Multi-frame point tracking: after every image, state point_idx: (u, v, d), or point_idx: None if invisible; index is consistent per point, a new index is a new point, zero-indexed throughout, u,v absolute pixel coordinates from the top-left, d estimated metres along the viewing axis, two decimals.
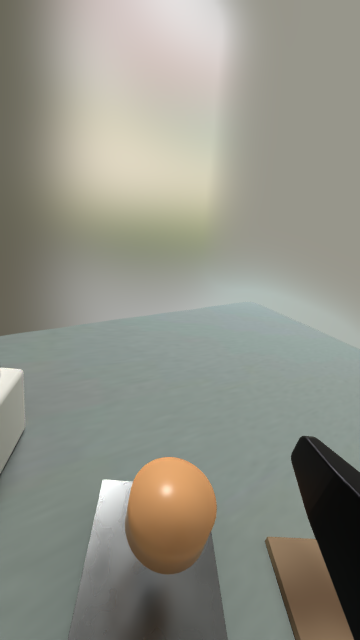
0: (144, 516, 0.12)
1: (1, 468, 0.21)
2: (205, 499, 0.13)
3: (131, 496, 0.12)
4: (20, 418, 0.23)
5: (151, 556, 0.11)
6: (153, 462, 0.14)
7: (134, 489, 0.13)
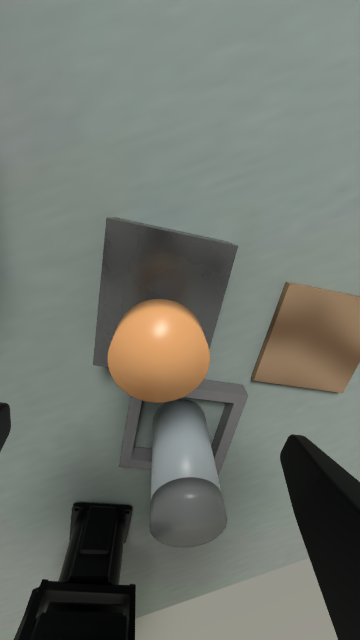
0: (123, 376, 0.11)
1: None
2: (196, 367, 0.11)
3: (109, 357, 0.11)
4: None
5: None
6: (140, 320, 0.10)
7: (112, 351, 0.11)
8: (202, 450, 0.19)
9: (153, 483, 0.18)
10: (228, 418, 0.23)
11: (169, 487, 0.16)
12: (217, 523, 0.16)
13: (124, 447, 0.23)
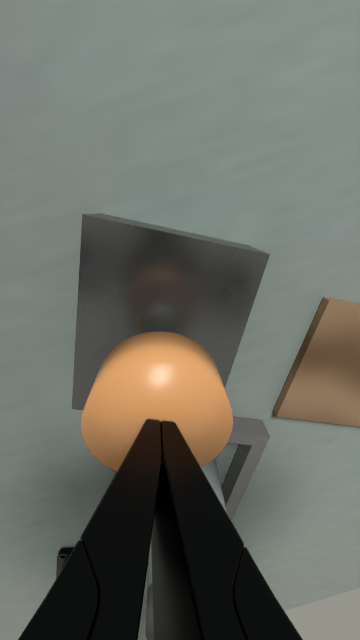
0: (105, 448, 0.08)
1: None
2: (212, 436, 0.08)
3: (83, 425, 0.07)
4: None
5: None
6: (128, 374, 0.07)
7: (88, 417, 0.07)
8: None
9: (151, 564, 0.14)
10: (243, 461, 0.19)
11: None
12: None
13: None
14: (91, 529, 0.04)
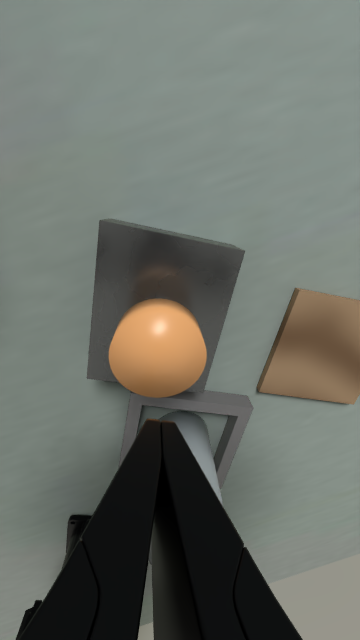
0: (123, 372, 0.12)
1: None
2: (193, 364, 0.12)
3: (110, 354, 0.11)
4: None
5: None
6: (139, 319, 0.11)
7: (113, 348, 0.11)
8: (205, 469, 0.18)
9: None
10: (231, 431, 0.22)
11: None
12: None
13: (122, 461, 0.22)
14: (91, 529, 0.04)
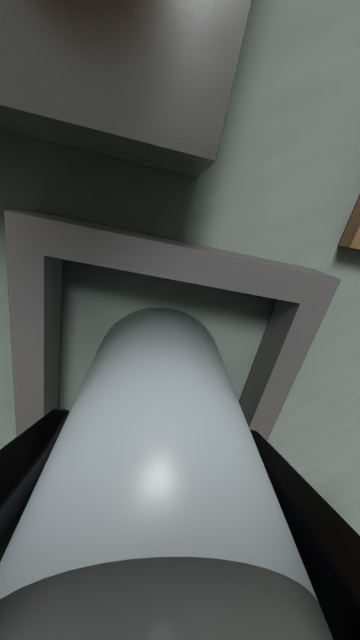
0: None
1: None
2: None
3: None
4: None
5: None
6: None
7: None
8: (223, 417, 0.05)
9: (2, 559, 0.04)
10: (278, 349, 0.09)
11: (19, 635, 0.02)
12: None
13: (21, 422, 0.10)
14: None
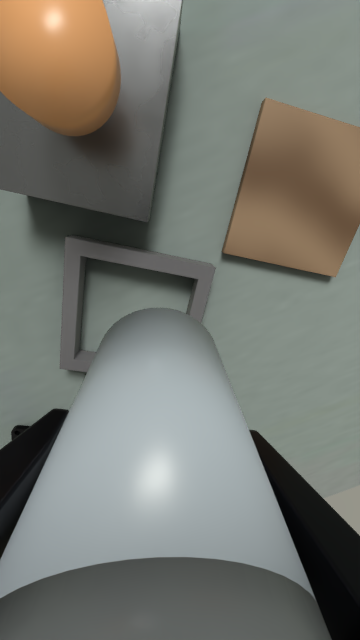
0: None
1: None
2: (94, 55, 0.08)
3: None
4: None
5: None
6: None
7: None
8: (222, 417, 0.05)
9: (0, 559, 0.04)
10: (192, 302, 0.19)
11: (17, 636, 0.02)
12: None
13: (63, 340, 0.19)
14: None
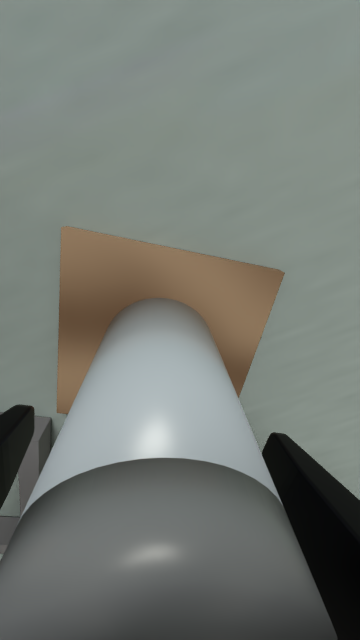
0: None
1: None
2: None
3: None
4: None
5: None
6: None
7: None
8: (213, 380, 0.06)
9: (36, 484, 0.05)
10: (19, 475, 0.13)
11: (63, 505, 0.03)
12: None
13: None
14: None
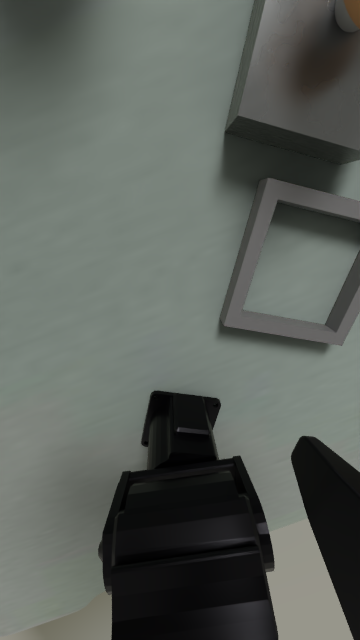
0: None
1: None
2: None
3: None
4: None
5: None
6: None
7: None
8: None
9: None
10: None
11: None
12: None
13: (236, 294, 0.18)
14: None
